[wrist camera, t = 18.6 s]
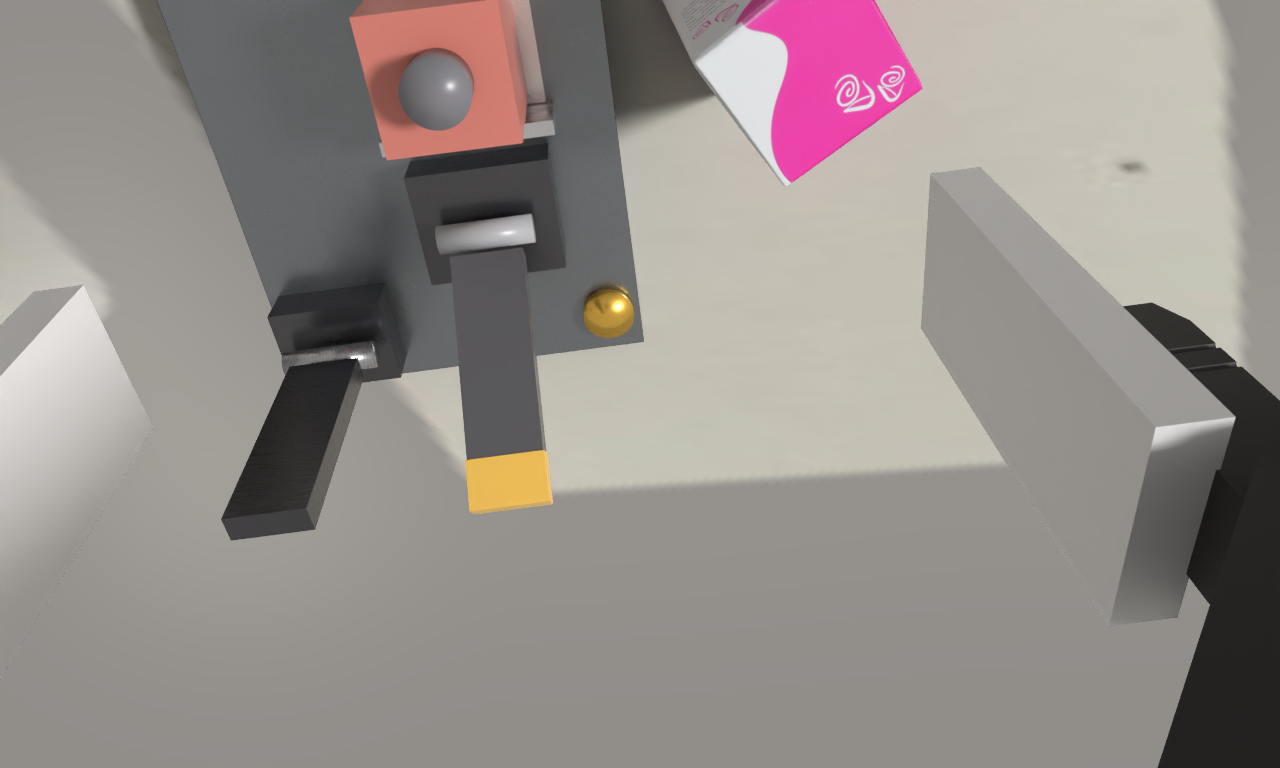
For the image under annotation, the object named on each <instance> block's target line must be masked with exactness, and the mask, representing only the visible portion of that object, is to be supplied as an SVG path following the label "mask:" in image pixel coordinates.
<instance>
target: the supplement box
mask: <svg viewBox="0 0 1280 768" xmlns="http://www.w3.org/2000/svg"><path fill="white" fill-rule="evenodd" d="M662 1H663V3H664V5H665V7H666V9H667V11H668V13H669V15H670V17H671V20H672V22H673V24H674V26H675V28H676V30H677V32H678V34H679V36H680V38H681V40H682V42H683V44H684V46H685V48H686V51H687V53H688V55H689V57H690V59H691V61H692V63H693V65H694V67H695V68H696V70H697V71H698V72H699V74H700V75H701V77H702V78H703V79H704V81H705V82H706V84H707V85H708V86H709V88H710V89H711V90H712V92H713V93H714V94H715V96H716V97H717V98H718V100H719V101H720V102H721V104H722V105H723V106H724V108H725V109H726V110H727V112H728V113H729V114H730V116H731V117H732V118H733V120H734V121H735V122H736V124H737V125H738V126H739V128H740V129H741V130H742V132H743V133H744V134H745V136H746V137H747V138H748V140H749V141H750V142H751V143H752V145H753V146H754V147H755V149H756V150H757V151H758V153H759V154H760V155H761V156H762V158H763V159H764V160H765V162H766V163H767V164H768V165H769V167H770V168H771V169H772V171H773V172H774V173H775V175H776V176H777V177H778V179H779V180H780V182H781V183H782V184H783V185H784V186H788V185H790V184H791V183H792V182H793V181H795V180H796V179H798V178H799V177H801V176H802V175H803V174H805V173H806V172H808V171H809V170H810V169H812V168H813V167H814V166H816V165H817V164H819V163H820V162H821V161H823V160H824V159H825V158H827V157H828V156H830V155H831V154H832V153H834V152H835V151H837V150H838V149H839V148H841V147H842V146H844V145H845V144H846V143H848V142H849V141H850V140H852V139H853V138H855V137H856V136H857V135H859V134H860V133H861V132H863V131H864V130H866V129H867V128H869V127H870V126H872V125H873V124H874V123H876V122H877V121H878V120H880V119H881V118H882V117H884V116H885V115H887V114H888V113H889V112H891V111H892V110H894V109H895V108H896V107H898V106H899V105H900V104H902V103H903V102H905V101H906V100H907V99H909V98H910V97H912V96H913V95H914V94H916V93H917V92H919V91H920V90H921V89H923V86H922V84H921V82H920V80H919V78H918V77H917V75H916V73H915V71H914V70H913V68H912V66H911V64H910V63H909V61H908V59H907V57H906V56H905V54H904V52H903V50H902V48H901V47H900V45H899V43H898V41H897V40H896V38H895V36H894V34H893V32H892V31H891V29H890V27H889V25H888V23H887V22H886V20H885V18H884V16H883V15H882V13H881V11H880V9H879V7H878V5H877V4H876V2H875V0H662Z"/></svg>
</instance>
